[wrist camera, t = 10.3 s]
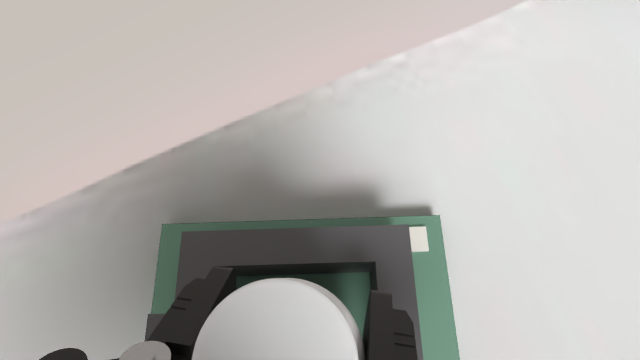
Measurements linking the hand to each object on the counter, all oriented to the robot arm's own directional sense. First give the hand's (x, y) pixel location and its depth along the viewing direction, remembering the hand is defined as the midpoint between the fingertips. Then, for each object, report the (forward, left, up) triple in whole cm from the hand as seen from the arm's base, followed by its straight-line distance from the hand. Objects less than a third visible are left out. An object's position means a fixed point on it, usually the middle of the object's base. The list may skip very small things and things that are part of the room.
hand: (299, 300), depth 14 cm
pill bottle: (0, +2, -4) cm, 5 cm away
